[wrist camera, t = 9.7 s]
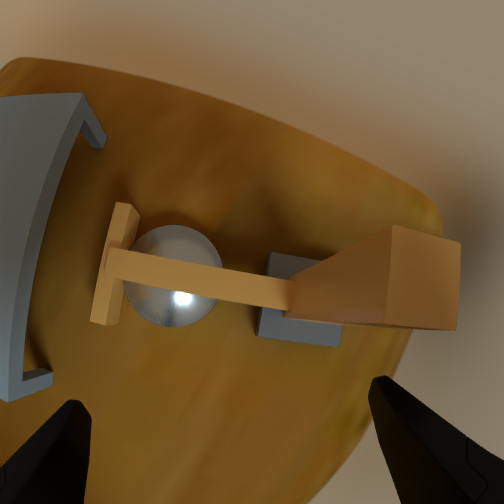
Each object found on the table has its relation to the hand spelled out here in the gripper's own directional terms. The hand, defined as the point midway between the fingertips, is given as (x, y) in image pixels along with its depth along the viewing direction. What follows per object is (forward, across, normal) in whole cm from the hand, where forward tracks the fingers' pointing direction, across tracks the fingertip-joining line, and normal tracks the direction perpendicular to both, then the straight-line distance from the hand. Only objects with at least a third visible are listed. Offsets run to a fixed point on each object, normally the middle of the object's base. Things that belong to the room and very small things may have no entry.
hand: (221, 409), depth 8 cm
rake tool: (+11, 0, +3) cm, 11 cm away
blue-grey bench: (+12, +14, -1) cm, 19 cm away
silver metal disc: (+12, +3, +2) cm, 12 cm away
